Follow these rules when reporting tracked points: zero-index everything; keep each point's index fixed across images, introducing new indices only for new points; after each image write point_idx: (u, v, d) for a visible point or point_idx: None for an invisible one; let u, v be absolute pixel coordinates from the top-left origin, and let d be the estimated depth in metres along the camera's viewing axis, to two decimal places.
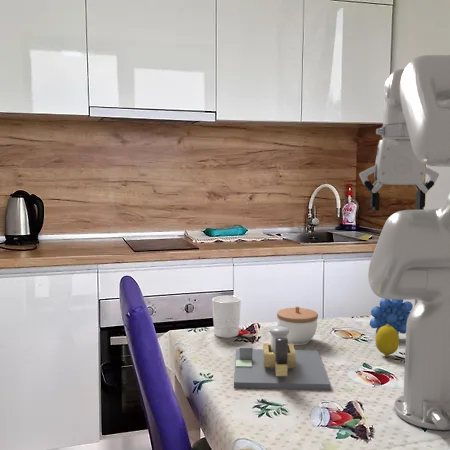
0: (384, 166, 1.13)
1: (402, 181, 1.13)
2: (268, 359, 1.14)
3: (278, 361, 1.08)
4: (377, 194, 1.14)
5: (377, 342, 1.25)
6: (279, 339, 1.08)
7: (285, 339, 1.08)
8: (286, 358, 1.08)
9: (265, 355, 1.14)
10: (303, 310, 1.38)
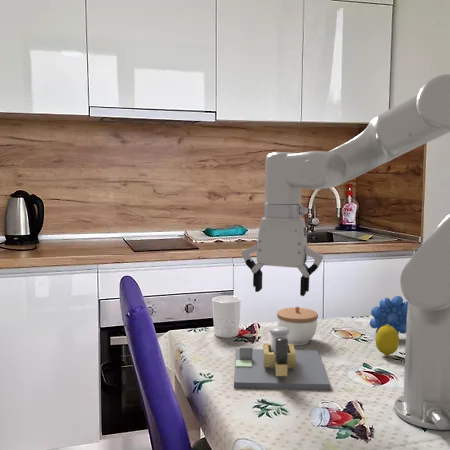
0: None
1: None
2: (268, 359, 1.14)
3: (278, 361, 1.08)
4: None
5: (377, 342, 1.25)
6: (279, 339, 1.08)
7: (285, 339, 1.08)
8: (286, 358, 1.08)
9: (265, 355, 1.14)
10: (303, 310, 1.38)
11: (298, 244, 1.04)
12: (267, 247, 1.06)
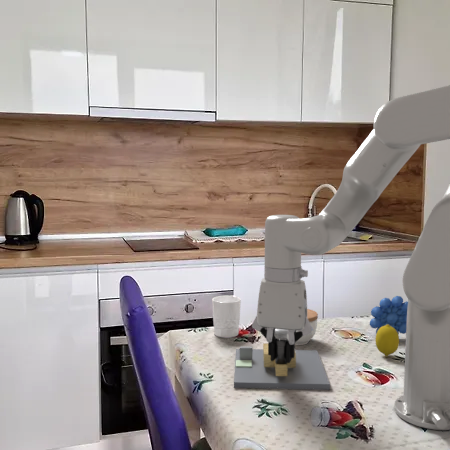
0: None
1: None
2: (268, 359, 1.14)
3: (278, 361, 1.08)
4: None
5: (377, 342, 1.25)
6: (279, 339, 1.08)
7: (285, 339, 1.08)
8: None
9: (265, 355, 1.14)
10: None
11: (299, 307, 1.04)
12: (268, 310, 1.06)
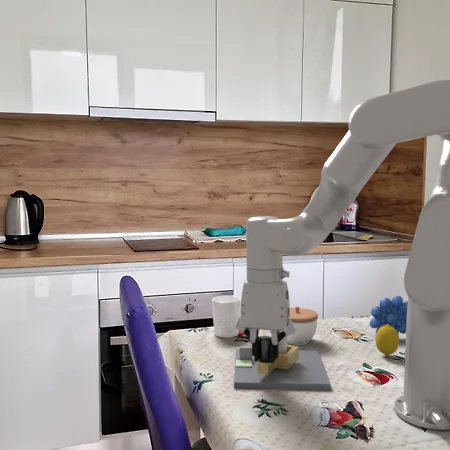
0: None
1: None
2: None
3: (260, 359, 1.09)
4: None
5: (377, 342, 1.25)
6: (263, 337, 1.09)
7: (268, 338, 1.09)
8: (268, 357, 1.09)
9: None
10: (303, 310, 1.38)
11: (281, 308, 1.05)
12: (250, 311, 1.07)
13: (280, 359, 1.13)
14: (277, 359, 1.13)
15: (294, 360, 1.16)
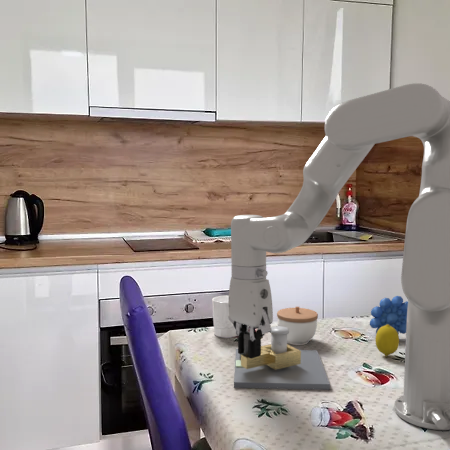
0: None
1: None
2: None
3: (243, 352, 1.13)
4: None
5: (377, 342, 1.25)
6: (247, 332, 1.13)
7: None
8: None
9: None
10: (303, 310, 1.38)
11: (253, 305, 1.07)
12: (233, 304, 1.12)
13: (270, 358, 1.14)
14: (267, 357, 1.14)
15: (290, 363, 1.15)
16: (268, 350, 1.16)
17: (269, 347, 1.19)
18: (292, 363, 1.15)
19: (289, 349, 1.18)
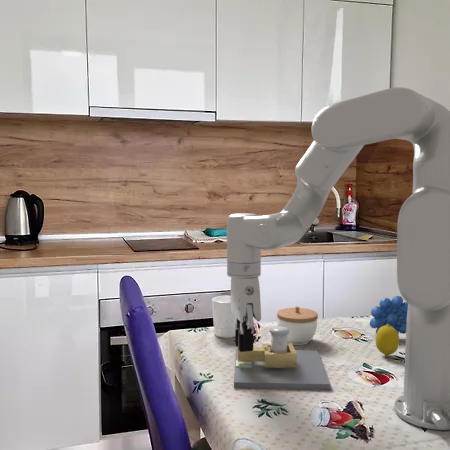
0: None
1: None
2: None
3: None
4: None
5: (377, 342, 1.25)
6: None
7: None
8: None
9: (262, 345, 1.20)
10: (303, 310, 1.38)
11: (238, 300, 1.11)
12: (231, 298, 1.18)
13: (264, 355, 1.15)
14: (261, 354, 1.16)
15: (283, 364, 1.14)
16: (266, 348, 1.17)
17: None
18: (286, 365, 1.14)
19: (290, 351, 1.16)
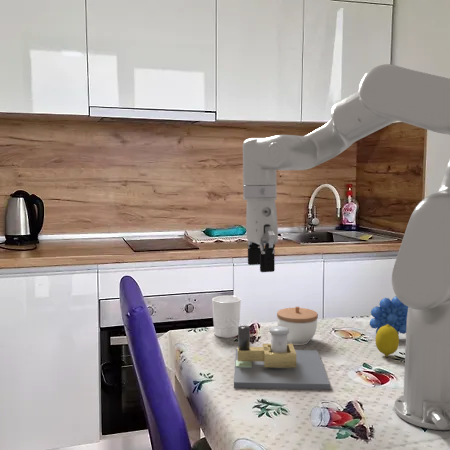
0: None
1: None
2: None
3: None
4: None
5: (377, 342, 1.25)
6: (243, 326, 1.17)
7: (243, 328, 1.16)
8: (240, 345, 1.16)
9: (263, 344, 1.20)
10: (303, 310, 1.38)
11: (256, 222, 1.13)
12: (247, 224, 1.19)
13: (264, 355, 1.15)
14: (261, 354, 1.16)
15: (283, 364, 1.14)
16: (266, 348, 1.17)
17: None
18: (285, 365, 1.14)
19: (289, 351, 1.16)
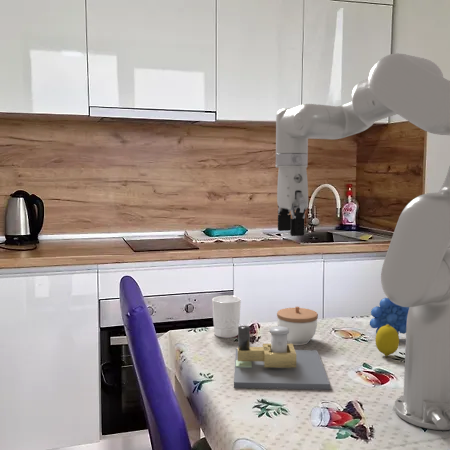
0: None
1: None
2: None
3: None
4: None
5: (377, 342, 1.25)
6: (243, 326, 1.17)
7: (243, 328, 1.16)
8: (240, 345, 1.16)
9: (263, 344, 1.20)
10: (303, 310, 1.38)
11: (287, 188, 1.19)
12: (278, 192, 1.25)
13: (264, 355, 1.15)
14: (261, 354, 1.16)
15: (283, 364, 1.14)
16: (266, 348, 1.17)
17: None
18: (285, 365, 1.14)
19: (289, 351, 1.16)
